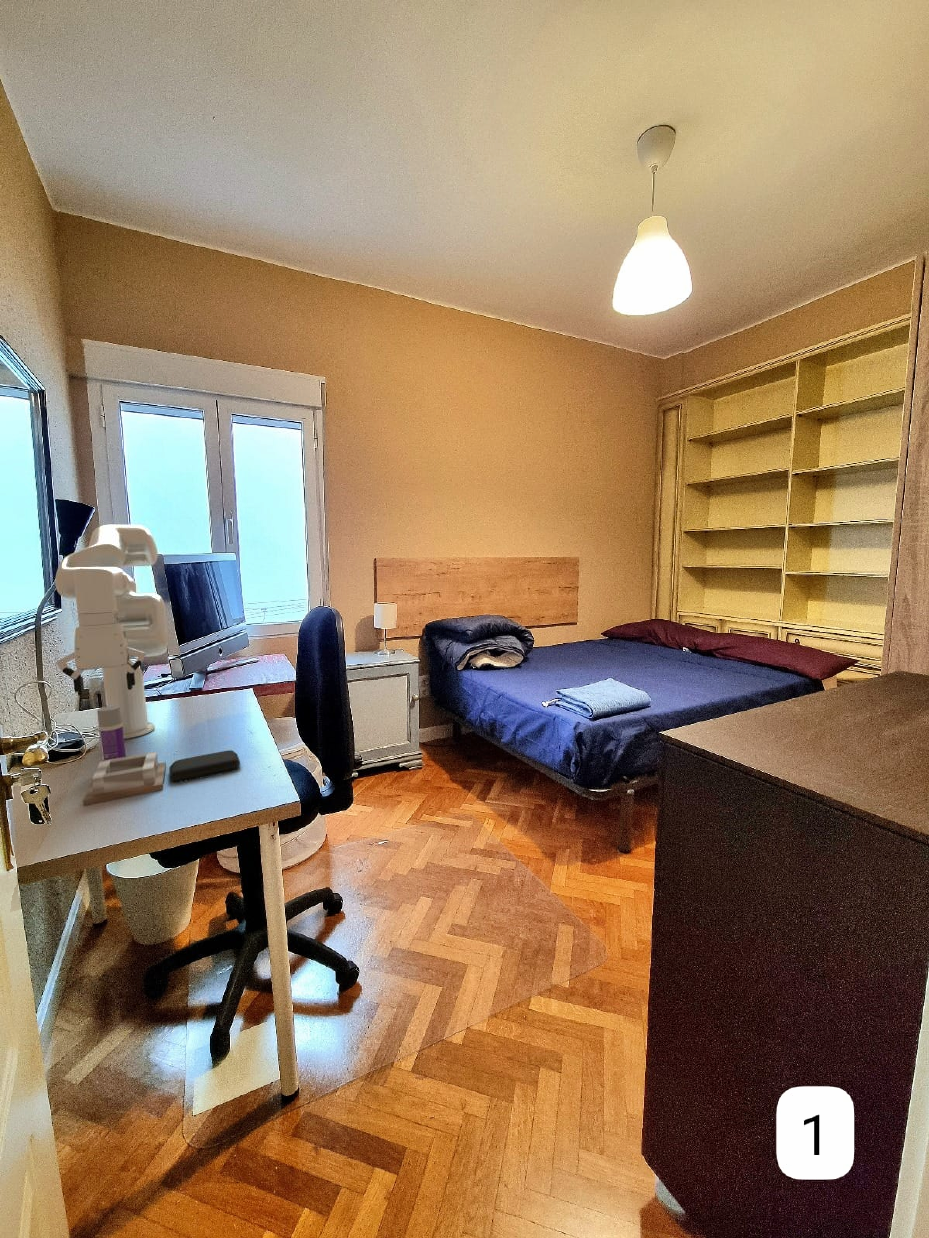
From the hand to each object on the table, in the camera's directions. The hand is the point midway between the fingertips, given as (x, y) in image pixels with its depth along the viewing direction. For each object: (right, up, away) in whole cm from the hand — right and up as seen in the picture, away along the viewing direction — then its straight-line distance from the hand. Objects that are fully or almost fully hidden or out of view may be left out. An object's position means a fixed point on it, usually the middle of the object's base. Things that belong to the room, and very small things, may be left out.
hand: (106, 691), depth 120 cm
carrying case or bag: (+23, -19, +1) cm, 30 cm away
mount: (+10, -20, -7) cm, 23 cm away
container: (0, -19, +3) cm, 19 cm away
